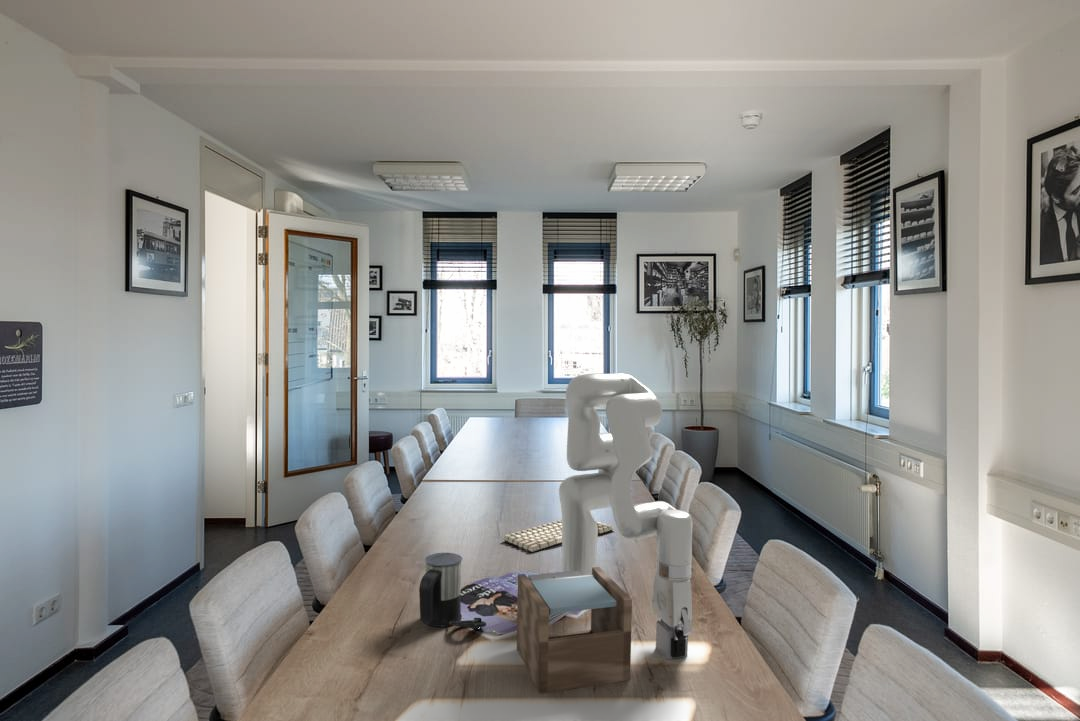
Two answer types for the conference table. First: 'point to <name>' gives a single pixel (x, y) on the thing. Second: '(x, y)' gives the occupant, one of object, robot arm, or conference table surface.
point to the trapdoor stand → (574, 641)
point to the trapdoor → (571, 591)
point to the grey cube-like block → (666, 639)
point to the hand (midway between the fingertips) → (671, 648)
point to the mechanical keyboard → (545, 536)
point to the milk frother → (443, 592)
